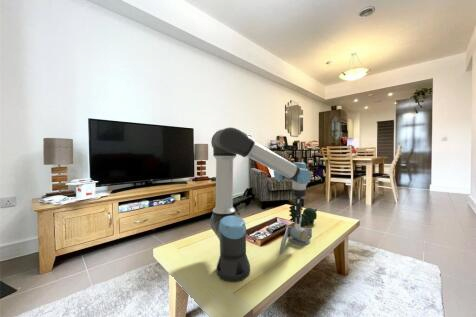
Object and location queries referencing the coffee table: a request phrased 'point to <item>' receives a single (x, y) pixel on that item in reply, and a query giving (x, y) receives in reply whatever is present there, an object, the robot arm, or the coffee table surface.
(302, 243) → the slate coaster
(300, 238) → the ceramic mug
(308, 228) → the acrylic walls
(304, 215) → the toy figurine
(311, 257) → the coffee table surface
